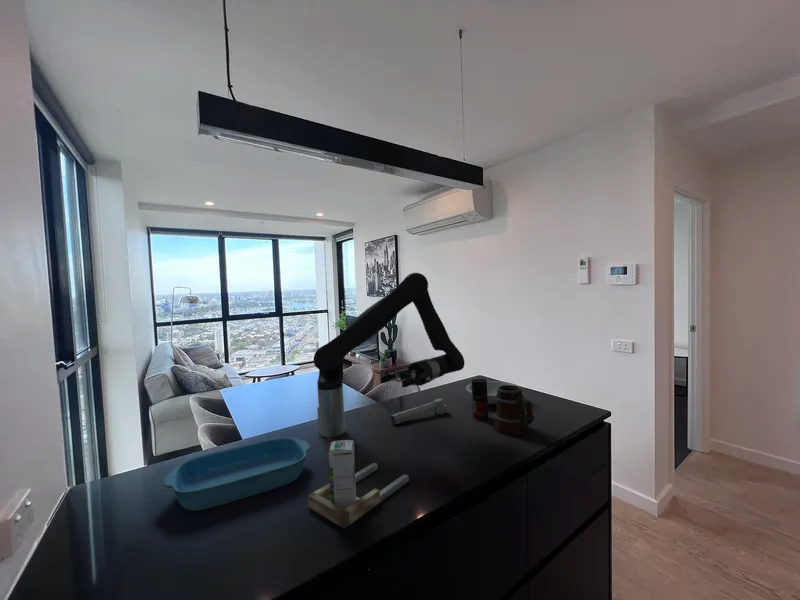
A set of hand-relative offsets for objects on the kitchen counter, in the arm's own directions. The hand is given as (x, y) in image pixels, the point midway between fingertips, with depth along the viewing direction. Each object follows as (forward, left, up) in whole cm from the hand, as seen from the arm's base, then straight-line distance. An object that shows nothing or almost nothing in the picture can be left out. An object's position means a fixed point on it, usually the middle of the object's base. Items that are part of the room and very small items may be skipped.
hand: (391, 381), depth 102 cm
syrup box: (+3, -23, -25) cm, 34 cm away
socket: (+3, -23, -25) cm, 34 cm away
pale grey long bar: (-16, +35, -25) cm, 46 cm away
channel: (+3, -11, -25) cm, 27 cm away
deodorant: (+5, +47, -25) cm, 53 cm away
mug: (+21, +42, -25) cm, 53 cm away
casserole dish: (-29, -32, -25) cm, 50 cm away
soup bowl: (+1, +68, -25) cm, 72 cm away
